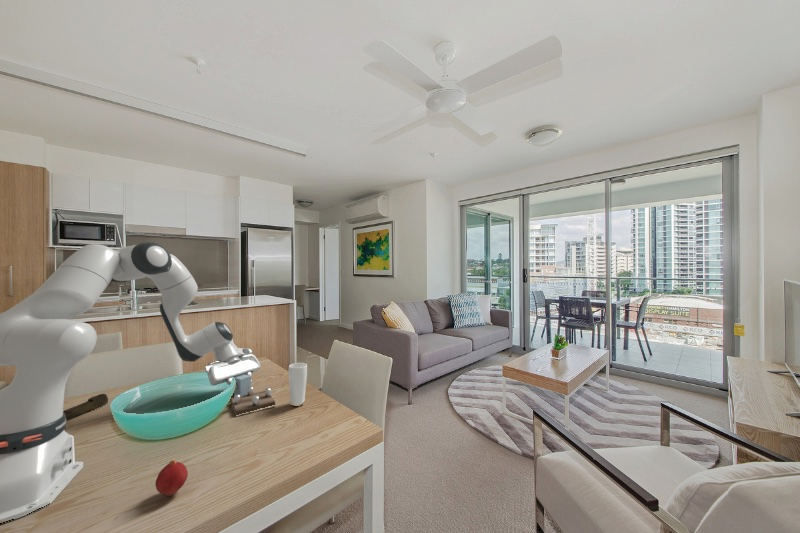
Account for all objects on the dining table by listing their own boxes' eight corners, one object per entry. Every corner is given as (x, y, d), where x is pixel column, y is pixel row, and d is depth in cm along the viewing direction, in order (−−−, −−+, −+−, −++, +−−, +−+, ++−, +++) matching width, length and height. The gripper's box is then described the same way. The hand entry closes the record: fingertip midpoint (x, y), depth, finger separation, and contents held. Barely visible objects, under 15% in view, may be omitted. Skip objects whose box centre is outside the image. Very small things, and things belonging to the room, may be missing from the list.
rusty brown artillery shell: (48, 430, 95) (49, 416, 95) (38, 429, 96) (39, 415, 96) (113, 404, 114) (114, 392, 114) (104, 403, 114) (105, 391, 114)
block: (250, 395, 123) (251, 376, 123) (240, 399, 119) (240, 379, 119) (243, 393, 125) (244, 374, 125) (233, 397, 121) (233, 377, 121)
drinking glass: (297, 409, 111) (298, 369, 111) (284, 406, 113) (284, 366, 114) (310, 402, 117) (311, 364, 117) (297, 399, 120) (297, 361, 120)
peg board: (275, 407, 113) (275, 393, 113) (236, 416, 105) (236, 402, 105) (267, 395, 123) (267, 383, 123) (230, 403, 115) (231, 390, 115)
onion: (148, 504, 65) (149, 467, 66) (168, 485, 71) (169, 451, 71) (174, 504, 66) (175, 467, 66) (193, 485, 71) (193, 451, 71)
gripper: (206, 359, 116) (220, 390, 111) (254, 348, 134) (268, 374, 129) (199, 369, 118) (213, 399, 113) (247, 356, 136) (261, 382, 131)
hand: (243, 385), depth 121 cm, fingers closed on block, 4 cm apart
